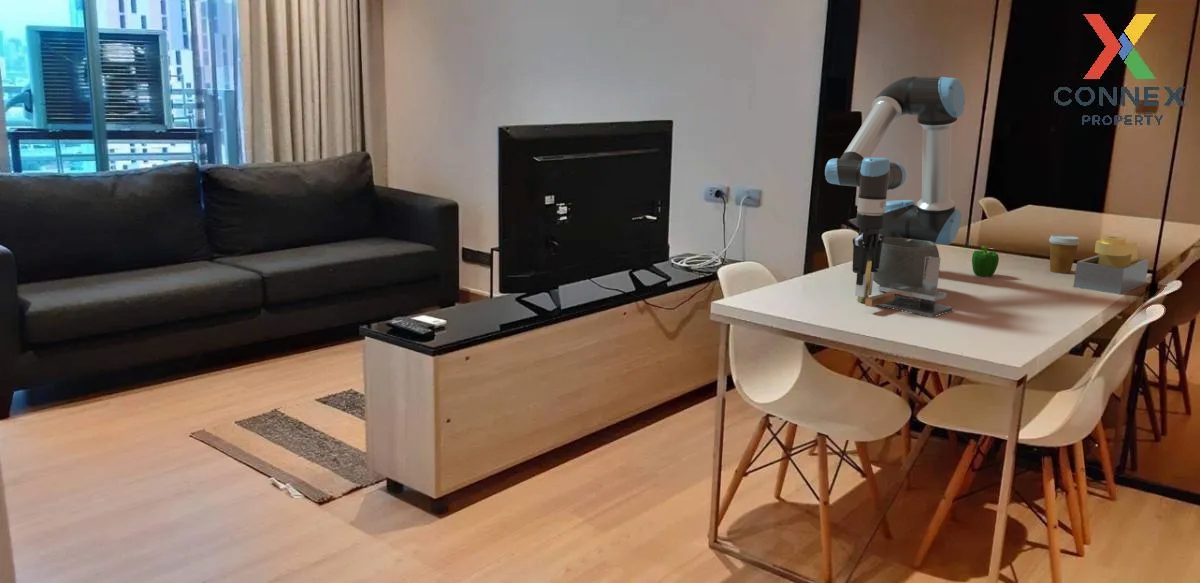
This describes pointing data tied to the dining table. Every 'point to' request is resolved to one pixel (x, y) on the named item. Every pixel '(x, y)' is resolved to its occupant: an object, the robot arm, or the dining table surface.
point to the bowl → (903, 261)
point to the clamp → (1116, 251)
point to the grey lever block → (914, 293)
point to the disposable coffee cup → (1062, 252)
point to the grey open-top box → (1110, 276)
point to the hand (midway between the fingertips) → (863, 294)
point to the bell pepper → (984, 262)
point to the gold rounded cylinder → (868, 272)
